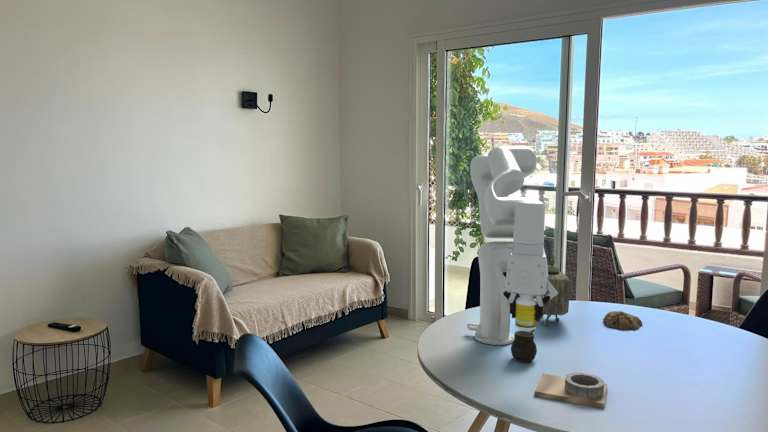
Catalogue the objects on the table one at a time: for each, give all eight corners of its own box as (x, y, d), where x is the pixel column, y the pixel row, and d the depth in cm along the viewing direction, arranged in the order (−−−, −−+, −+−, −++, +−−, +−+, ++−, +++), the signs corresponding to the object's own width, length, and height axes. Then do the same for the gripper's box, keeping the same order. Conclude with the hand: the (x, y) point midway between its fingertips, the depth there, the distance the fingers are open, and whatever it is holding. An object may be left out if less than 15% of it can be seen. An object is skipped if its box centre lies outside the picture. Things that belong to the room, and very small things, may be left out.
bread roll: (607, 317, 199) (608, 304, 199) (644, 324, 192) (645, 310, 192) (597, 327, 189) (598, 313, 188) (636, 334, 182) (637, 319, 181)
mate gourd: (505, 357, 161) (506, 324, 160) (526, 354, 164) (527, 321, 163) (520, 366, 154) (521, 331, 153) (542, 362, 157) (543, 328, 156)
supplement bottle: (537, 331, 138) (538, 293, 137) (515, 330, 139) (516, 292, 138) (536, 324, 143) (537, 288, 142) (514, 323, 145) (515, 287, 143)
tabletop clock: (535, 315, 202) (537, 248, 199) (561, 316, 200) (563, 248, 198) (541, 327, 187) (543, 255, 185) (568, 328, 186) (571, 256, 183)
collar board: (534, 395, 135) (534, 381, 135) (542, 377, 146) (542, 364, 146) (604, 408, 128) (604, 393, 128) (607, 388, 139) (607, 374, 139)
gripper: (491, 249, 139) (489, 318, 141) (561, 254, 132) (558, 327, 134) (498, 244, 146) (497, 310, 148) (565, 249, 139) (563, 318, 141)
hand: (526, 317), depth 141 cm, fingers closed on supplement bottle, 5 cm apart
